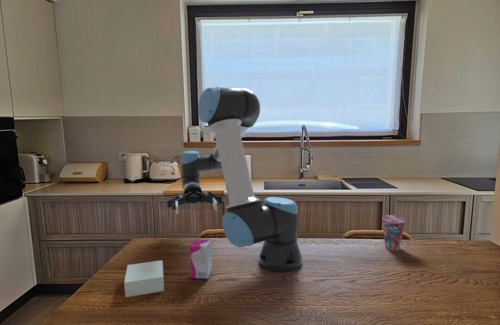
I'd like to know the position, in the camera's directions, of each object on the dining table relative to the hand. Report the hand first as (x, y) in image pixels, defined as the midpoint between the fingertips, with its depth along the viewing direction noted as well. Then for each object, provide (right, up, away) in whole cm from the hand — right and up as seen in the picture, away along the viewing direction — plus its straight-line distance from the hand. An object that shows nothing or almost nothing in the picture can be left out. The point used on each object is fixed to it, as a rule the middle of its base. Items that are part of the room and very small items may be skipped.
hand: (196, 208), depth 111 cm
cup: (+74, -18, +12) cm, 77 cm away
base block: (-14, -23, -11) cm, 29 cm away
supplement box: (+3, -22, -6) cm, 22 cm away
